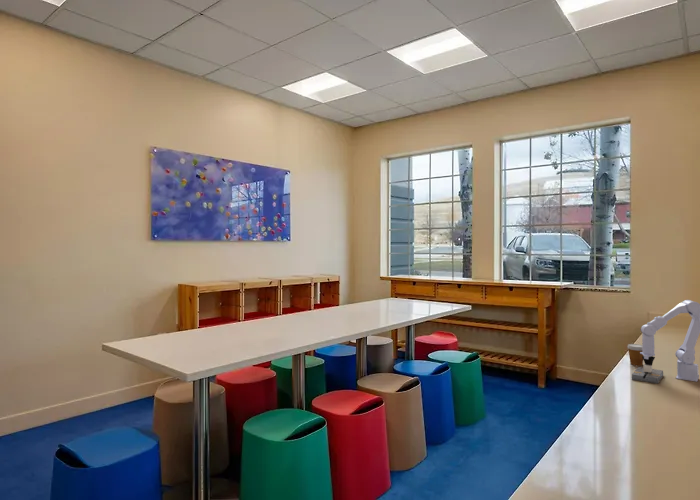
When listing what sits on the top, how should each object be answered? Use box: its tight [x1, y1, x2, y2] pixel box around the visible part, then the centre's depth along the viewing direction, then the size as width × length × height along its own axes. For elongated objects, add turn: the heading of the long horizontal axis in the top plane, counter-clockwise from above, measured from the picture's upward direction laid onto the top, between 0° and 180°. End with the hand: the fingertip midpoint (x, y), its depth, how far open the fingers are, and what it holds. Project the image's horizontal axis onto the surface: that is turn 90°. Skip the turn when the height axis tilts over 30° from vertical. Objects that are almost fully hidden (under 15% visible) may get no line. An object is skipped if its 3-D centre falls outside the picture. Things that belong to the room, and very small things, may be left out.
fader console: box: [631, 366, 664, 385], centre depth 244 cm, size 12×19×3 cm, turn 137°
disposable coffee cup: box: [627, 343, 644, 367], centre depth 271 cm, size 10×10×12 cm
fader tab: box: [643, 363, 653, 374], centre depth 245 cm, size 4×3×5 cm
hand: (648, 369), depth 247 cm, fingers closed
